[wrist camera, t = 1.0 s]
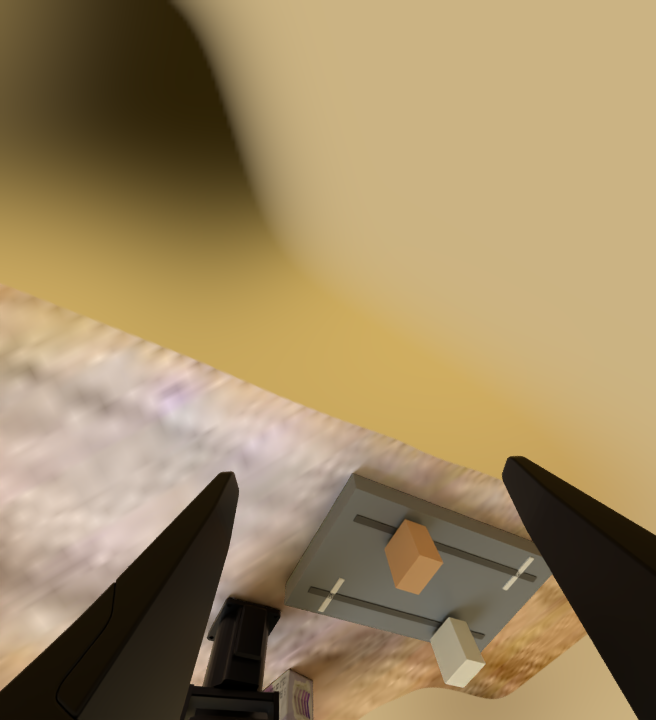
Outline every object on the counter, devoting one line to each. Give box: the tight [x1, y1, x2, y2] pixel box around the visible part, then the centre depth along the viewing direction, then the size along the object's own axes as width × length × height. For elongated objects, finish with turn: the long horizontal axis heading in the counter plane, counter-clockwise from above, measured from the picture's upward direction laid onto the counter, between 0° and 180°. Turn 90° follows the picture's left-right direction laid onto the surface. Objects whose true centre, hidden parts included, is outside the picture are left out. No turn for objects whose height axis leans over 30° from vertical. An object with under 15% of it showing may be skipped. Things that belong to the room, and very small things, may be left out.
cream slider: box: [430, 617, 485, 688], centre depth 29 cm, size 4×2×4 cm, turn 153°
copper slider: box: [384, 519, 443, 595], centre depth 24 cm, size 4×2×4 cm, turn 153°
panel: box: [284, 474, 552, 653], centre depth 30 cm, size 16×26×2 cm, turn 63°
